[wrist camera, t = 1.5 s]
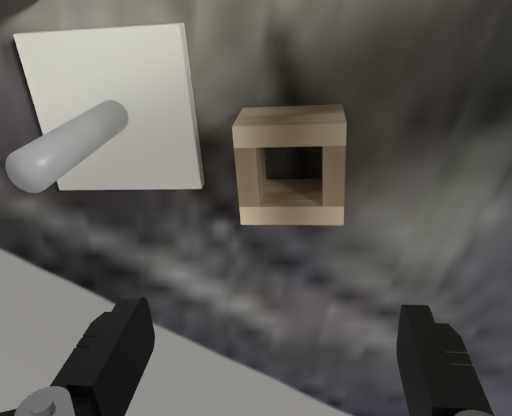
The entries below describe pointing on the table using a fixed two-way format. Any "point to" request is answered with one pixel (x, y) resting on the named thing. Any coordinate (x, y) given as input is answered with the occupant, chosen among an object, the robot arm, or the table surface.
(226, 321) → the table surface
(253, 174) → the ring
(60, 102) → the post
